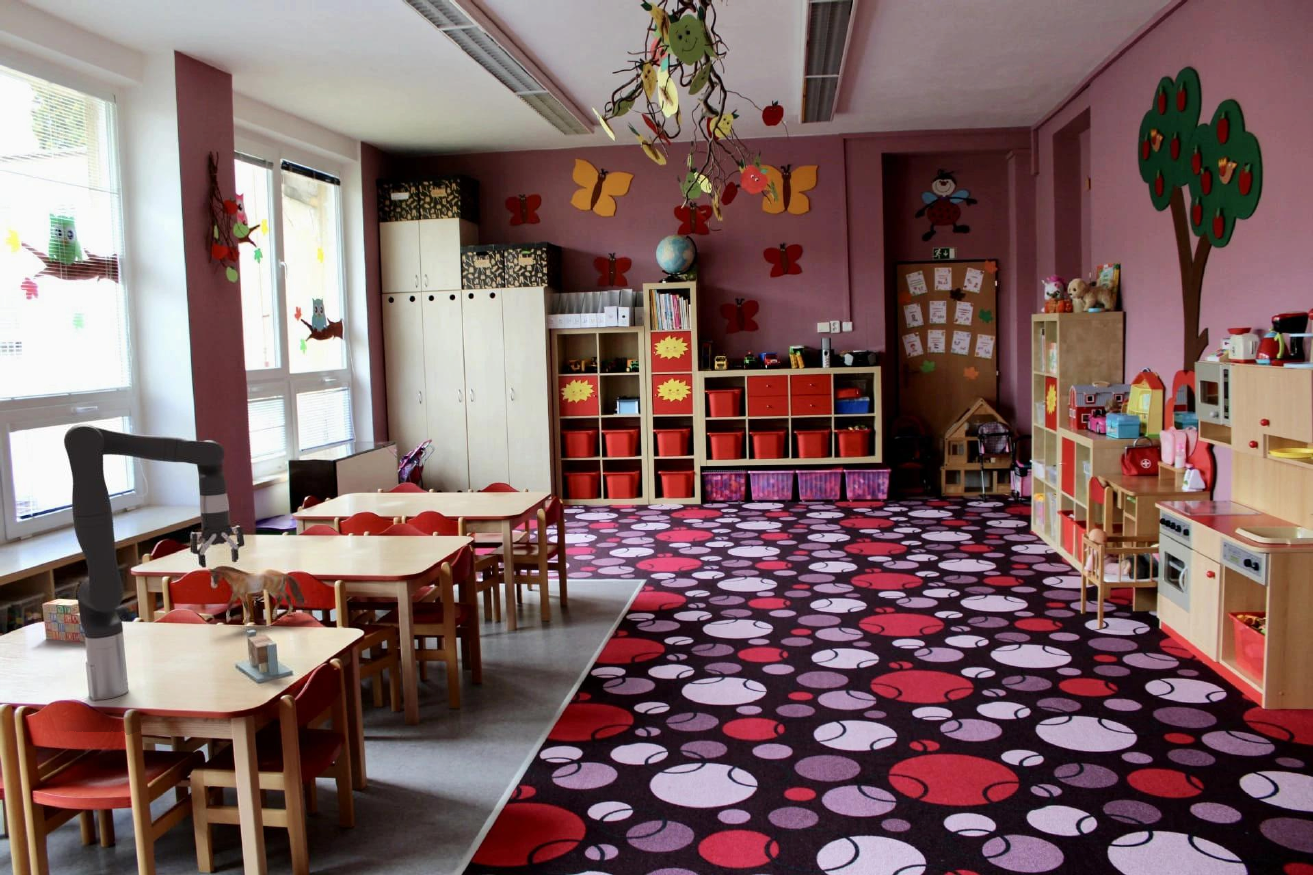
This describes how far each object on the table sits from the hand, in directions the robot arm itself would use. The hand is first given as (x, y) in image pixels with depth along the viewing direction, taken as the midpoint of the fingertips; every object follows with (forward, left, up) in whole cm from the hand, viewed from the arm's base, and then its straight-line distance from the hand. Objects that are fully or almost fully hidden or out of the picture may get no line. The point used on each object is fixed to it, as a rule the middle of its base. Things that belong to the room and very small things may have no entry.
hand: (219, 564), depth 284 cm
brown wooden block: (+8, -7, -28) cm, 30 cm away
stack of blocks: (-26, +73, -32) cm, 83 cm away
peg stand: (+8, -7, -32) cm, 34 cm away
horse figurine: (+25, +45, -32) cm, 61 cm away
